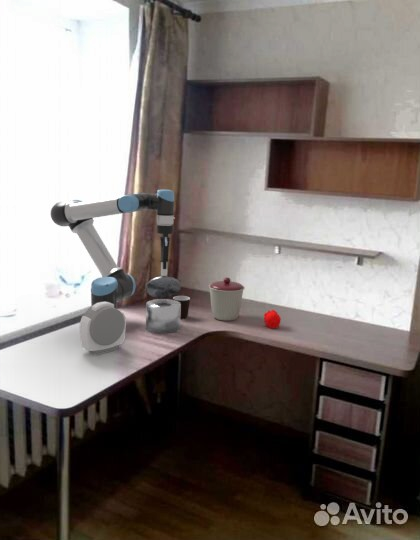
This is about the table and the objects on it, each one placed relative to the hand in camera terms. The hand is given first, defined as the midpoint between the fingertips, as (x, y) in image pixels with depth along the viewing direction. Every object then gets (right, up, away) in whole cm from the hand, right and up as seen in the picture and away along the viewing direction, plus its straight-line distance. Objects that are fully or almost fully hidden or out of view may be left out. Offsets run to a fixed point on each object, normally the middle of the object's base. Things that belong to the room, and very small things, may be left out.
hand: (164, 275), depth 232 cm
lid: (-1, -6, +4) cm, 7 cm away
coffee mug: (+7, -21, +25) cm, 33 cm away
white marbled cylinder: (-1, -25, +5) cm, 25 cm away
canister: (+29, -22, +25) cm, 44 cm away
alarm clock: (-23, -31, -25) cm, 45 cm away
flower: (+51, -26, +13) cm, 59 cm away
